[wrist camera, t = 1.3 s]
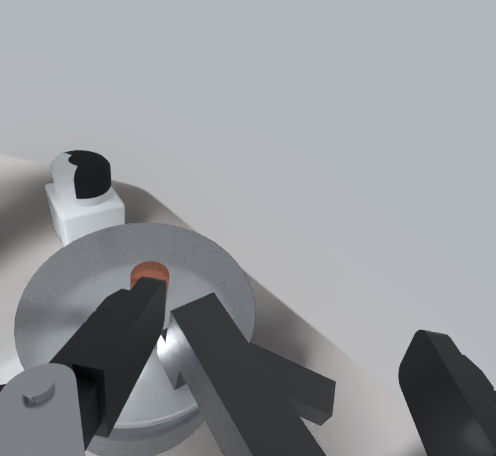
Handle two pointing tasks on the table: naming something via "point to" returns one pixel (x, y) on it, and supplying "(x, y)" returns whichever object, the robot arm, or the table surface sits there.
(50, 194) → the container
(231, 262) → the cooker lid
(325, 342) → the table surface
